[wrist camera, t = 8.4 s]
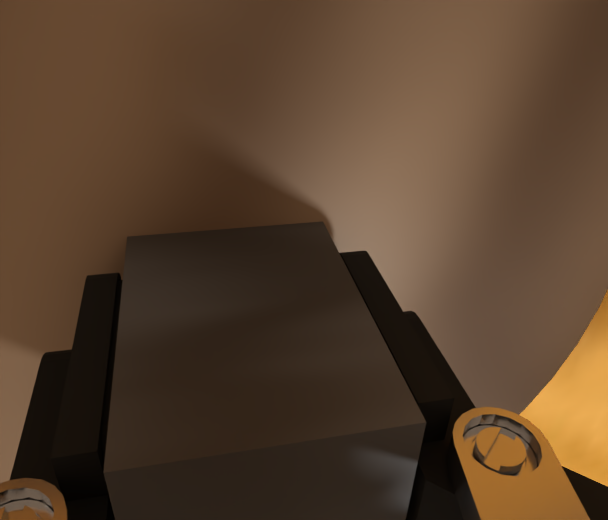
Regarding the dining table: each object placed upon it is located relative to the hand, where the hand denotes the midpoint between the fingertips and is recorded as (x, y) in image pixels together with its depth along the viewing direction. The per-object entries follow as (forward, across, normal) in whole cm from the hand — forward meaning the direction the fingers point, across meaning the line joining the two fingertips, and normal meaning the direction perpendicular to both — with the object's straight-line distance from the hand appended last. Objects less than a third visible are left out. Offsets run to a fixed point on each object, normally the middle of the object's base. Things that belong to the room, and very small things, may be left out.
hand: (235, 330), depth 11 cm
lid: (+2, 0, 0) cm, 2 cm away
